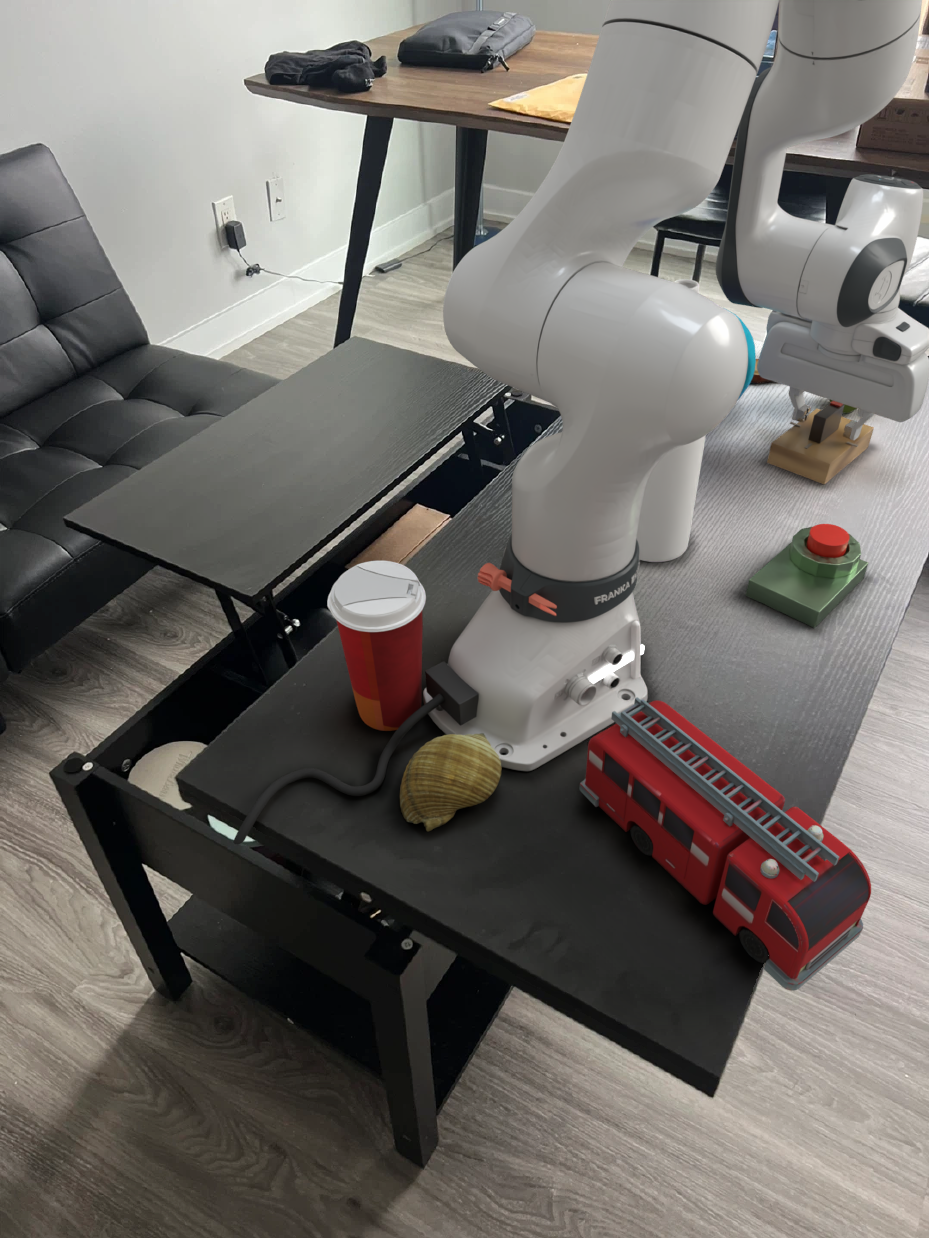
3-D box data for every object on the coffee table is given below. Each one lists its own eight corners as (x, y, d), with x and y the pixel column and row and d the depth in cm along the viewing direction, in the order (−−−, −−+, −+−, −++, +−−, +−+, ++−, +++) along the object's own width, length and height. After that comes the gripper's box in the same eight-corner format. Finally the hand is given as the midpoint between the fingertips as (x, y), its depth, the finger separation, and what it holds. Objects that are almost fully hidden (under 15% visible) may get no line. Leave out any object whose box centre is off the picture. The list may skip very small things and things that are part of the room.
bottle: (650, 572, 101) (684, 307, 81) (602, 537, 106) (624, 281, 86) (703, 546, 104) (748, 286, 85) (654, 514, 109) (686, 262, 90)
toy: (788, 1003, 63) (819, 925, 57) (576, 798, 78) (581, 717, 71) (861, 938, 67) (898, 858, 60) (645, 754, 81) (656, 673, 75)
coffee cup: (438, 679, 89) (431, 558, 79) (426, 743, 83) (417, 621, 73) (354, 673, 90) (337, 553, 80) (336, 737, 84) (315, 615, 74)
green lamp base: (814, 628, 93) (823, 598, 90) (745, 595, 97) (751, 565, 95) (867, 574, 99) (877, 545, 97) (800, 545, 104) (807, 517, 101)
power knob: (819, 444, 115) (826, 417, 112) (807, 439, 115) (814, 413, 113) (838, 429, 117) (845, 402, 115) (826, 425, 118) (833, 399, 116)
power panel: (829, 486, 113) (835, 464, 111) (762, 461, 118) (767, 439, 116) (872, 449, 119) (879, 427, 117) (807, 426, 124) (812, 405, 122)
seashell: (432, 856, 78) (477, 847, 72) (369, 809, 77) (408, 795, 70) (482, 765, 83) (528, 749, 77) (423, 719, 82) (465, 699, 75)
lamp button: (834, 563, 95) (838, 550, 94) (799, 548, 97) (802, 535, 96) (852, 546, 97) (856, 533, 96) (817, 532, 99) (821, 519, 98)
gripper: (758, 309, 111) (739, 411, 120) (925, 356, 100) (890, 465, 109) (784, 293, 114) (764, 394, 123) (948, 337, 103) (913, 444, 112)
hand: (824, 428), depth 116 cm, fingers open, 5 cm apart
